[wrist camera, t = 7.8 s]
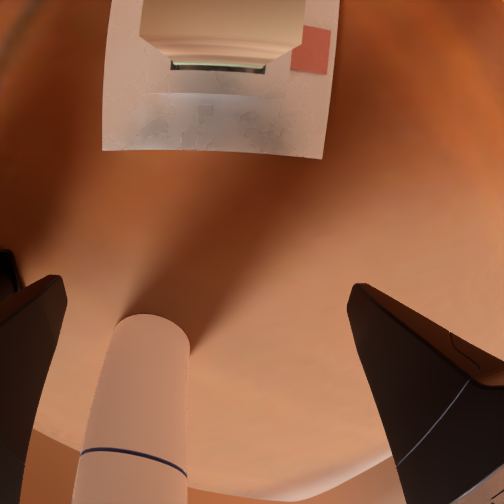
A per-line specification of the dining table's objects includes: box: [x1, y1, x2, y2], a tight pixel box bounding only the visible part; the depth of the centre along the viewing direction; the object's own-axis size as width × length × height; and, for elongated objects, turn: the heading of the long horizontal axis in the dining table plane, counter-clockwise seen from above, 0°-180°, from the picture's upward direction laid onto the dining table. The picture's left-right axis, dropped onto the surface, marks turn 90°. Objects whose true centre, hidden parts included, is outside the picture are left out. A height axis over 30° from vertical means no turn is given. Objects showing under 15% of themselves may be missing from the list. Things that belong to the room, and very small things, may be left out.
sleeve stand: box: [102, 0, 340, 159], centre depth 14 cm, size 14×14×4 cm
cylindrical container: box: [72, 314, 190, 504], centre depth 16 cm, size 7×7×25 cm
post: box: [139, 0, 306, 69], centre depth 9 cm, size 4×4×8 cm
